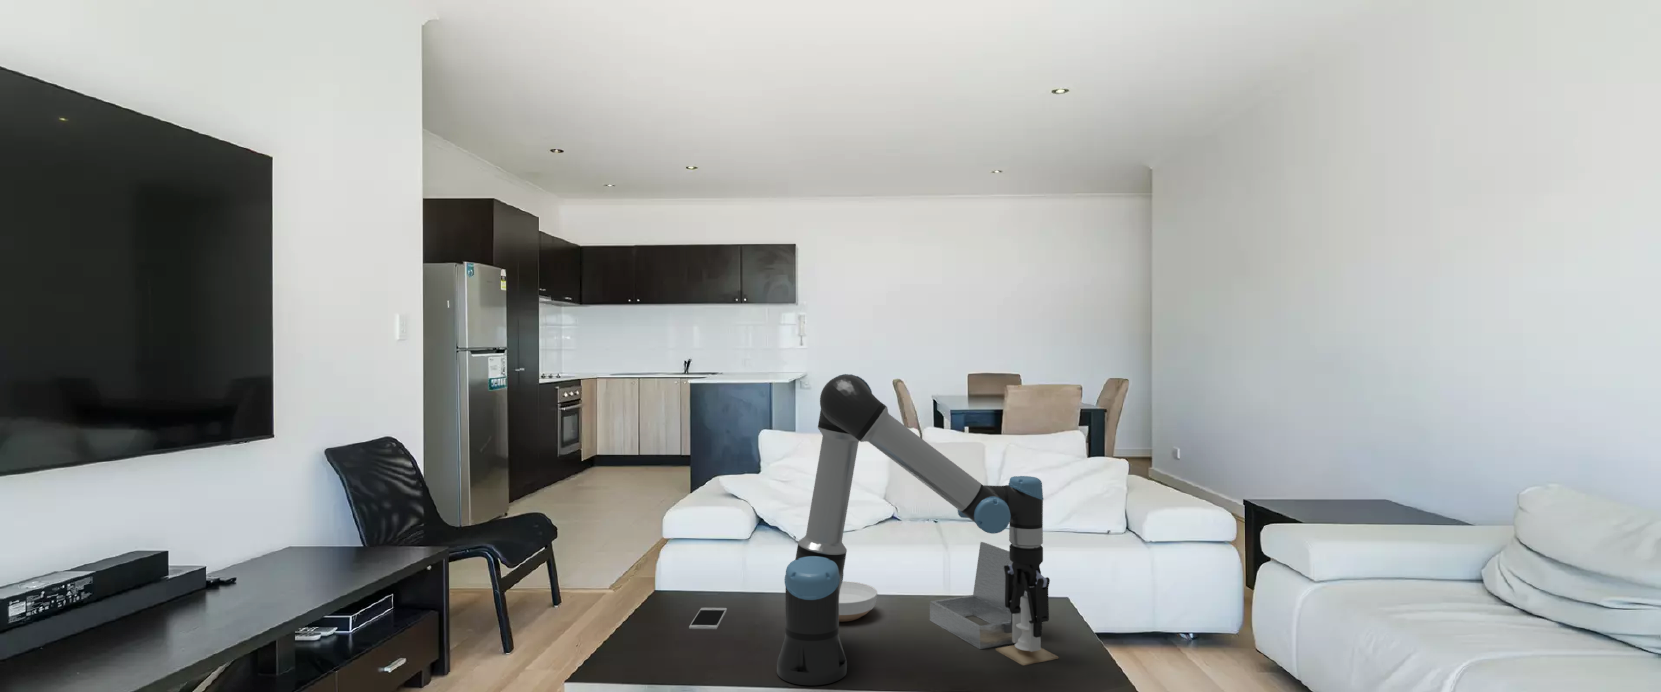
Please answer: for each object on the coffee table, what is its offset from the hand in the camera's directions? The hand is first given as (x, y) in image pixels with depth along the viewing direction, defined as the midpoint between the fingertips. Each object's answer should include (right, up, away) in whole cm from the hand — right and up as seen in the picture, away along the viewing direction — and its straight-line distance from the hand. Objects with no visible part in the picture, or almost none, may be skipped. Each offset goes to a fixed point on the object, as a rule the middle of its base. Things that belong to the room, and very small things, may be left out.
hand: (1026, 645), depth 179 cm
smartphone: (-77, -3, +24) cm, 81 cm away
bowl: (-42, -3, +28) cm, 51 cm away
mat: (0, -2, 0) cm, 2 cm away
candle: (0, 0, 0) cm, 1 cm away
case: (-7, -2, +16) cm, 18 cm away
